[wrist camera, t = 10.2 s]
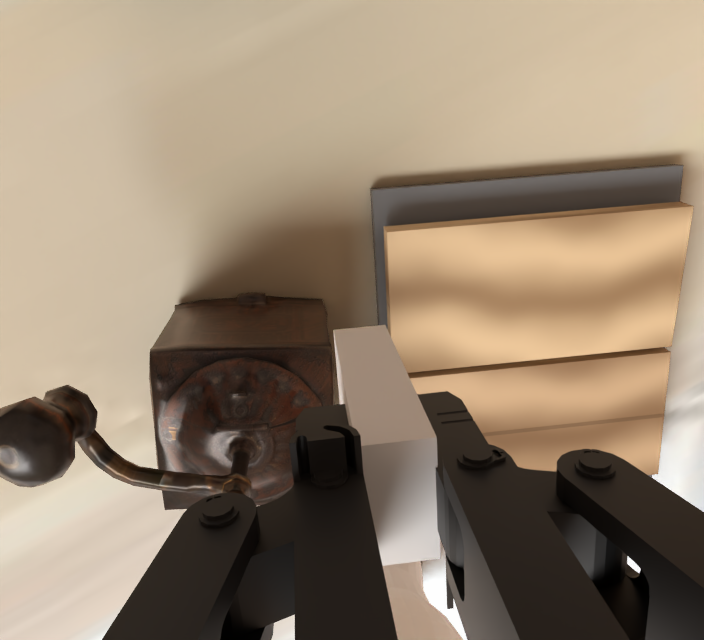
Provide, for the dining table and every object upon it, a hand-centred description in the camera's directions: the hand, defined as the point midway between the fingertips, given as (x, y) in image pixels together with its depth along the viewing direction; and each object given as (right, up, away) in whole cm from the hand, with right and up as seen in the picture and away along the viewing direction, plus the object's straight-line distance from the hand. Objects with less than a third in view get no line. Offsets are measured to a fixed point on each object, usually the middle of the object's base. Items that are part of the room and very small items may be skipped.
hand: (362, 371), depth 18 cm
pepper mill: (-10, -2, +26) cm, 27 cm away
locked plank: (+13, -6, +28) cm, 31 cm away
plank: (+12, +4, +24) cm, 27 cm away
